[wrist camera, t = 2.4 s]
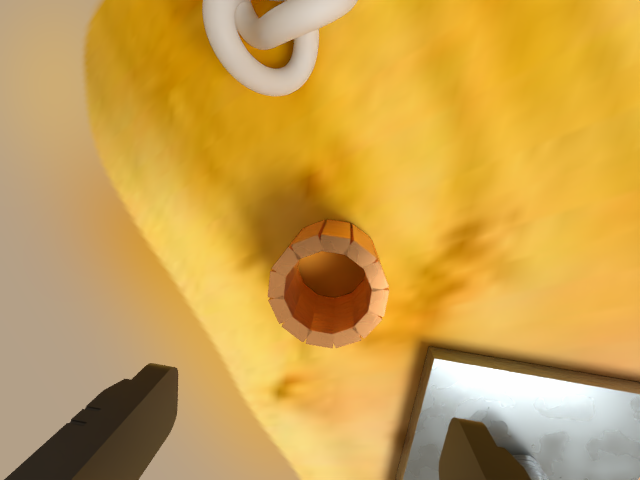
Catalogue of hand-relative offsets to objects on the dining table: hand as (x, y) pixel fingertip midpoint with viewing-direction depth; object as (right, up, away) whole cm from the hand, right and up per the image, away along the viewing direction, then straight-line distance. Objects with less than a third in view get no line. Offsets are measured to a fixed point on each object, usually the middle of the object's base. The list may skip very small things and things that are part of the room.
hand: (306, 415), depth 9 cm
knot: (-2, +18, +10) cm, 20 cm away
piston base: (+15, -12, +15) cm, 24 cm away
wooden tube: (+1, +3, +13) cm, 13 cm away
